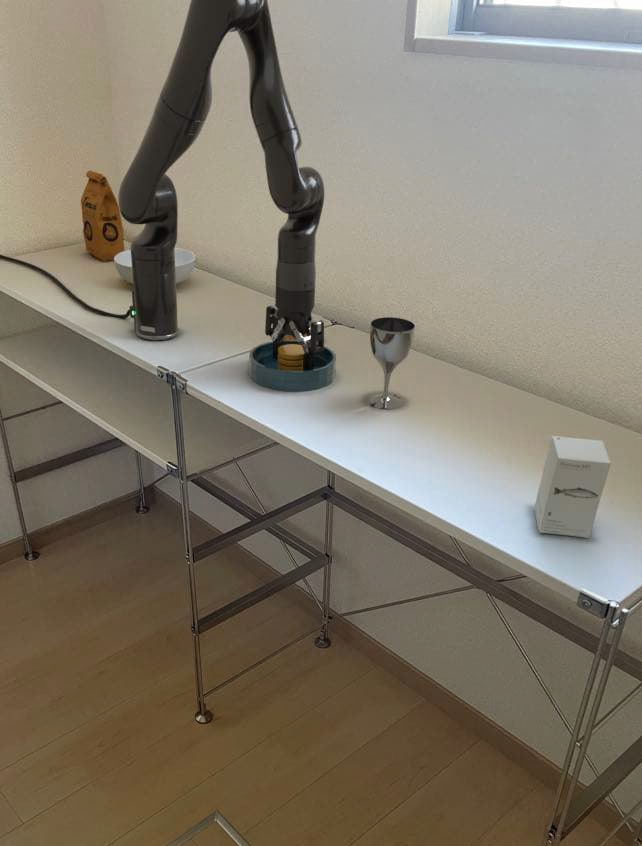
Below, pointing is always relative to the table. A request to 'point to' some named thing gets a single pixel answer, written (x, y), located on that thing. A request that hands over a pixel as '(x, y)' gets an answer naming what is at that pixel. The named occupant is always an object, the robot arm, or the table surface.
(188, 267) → the serving bowl
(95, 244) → the coffee package
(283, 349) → the tan ridged cylinder
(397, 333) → the wine glass
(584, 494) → the white packaging box
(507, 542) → the table surface
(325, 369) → the bowl
